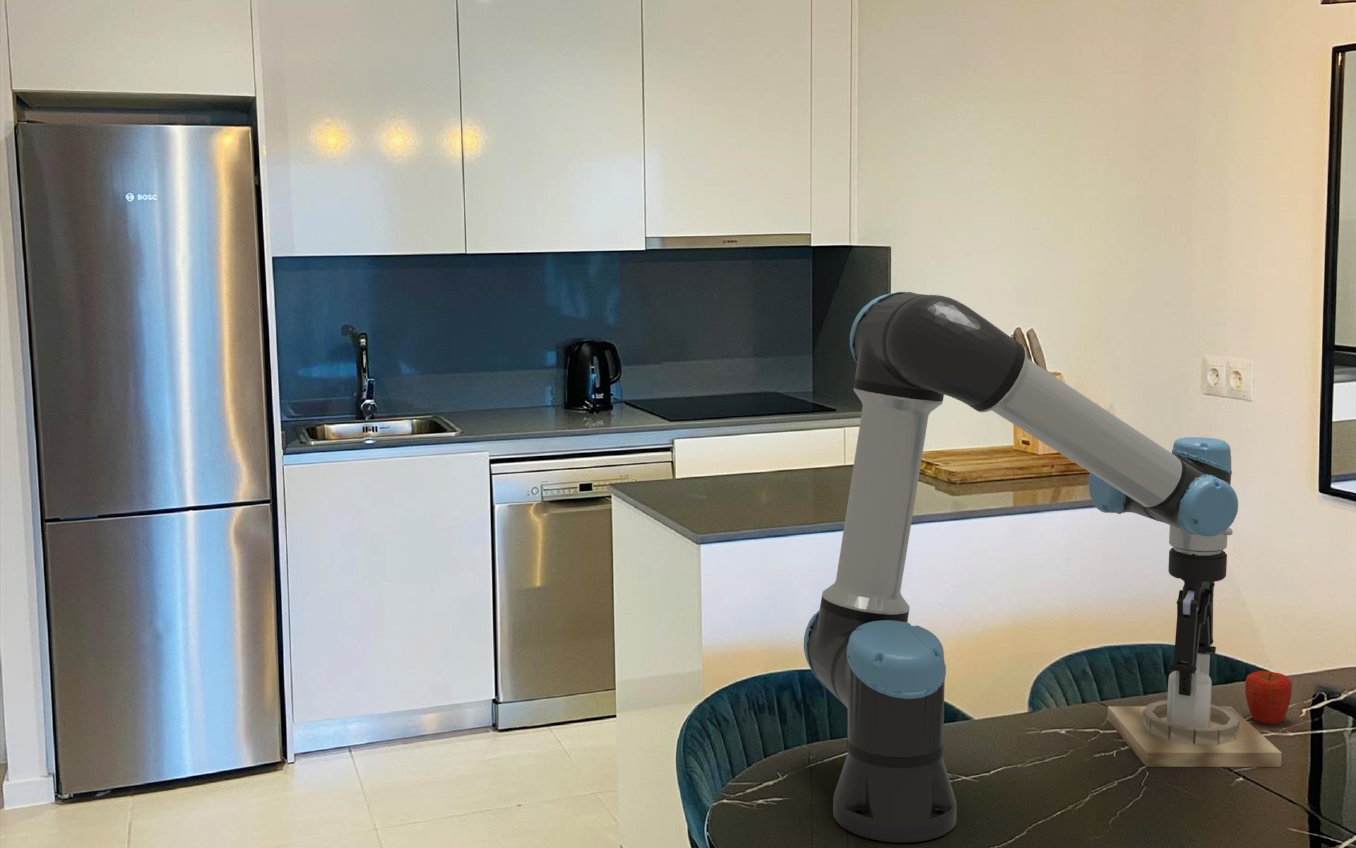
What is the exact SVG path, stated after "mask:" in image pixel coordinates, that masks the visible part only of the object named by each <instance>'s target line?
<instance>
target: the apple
mask: <svg viewBox="0 0 1356 848" xmlns="http://www.w3.org/2000/svg"><path fill="white" fill-rule="evenodd" d="M1244 686H1245V688H1244V689H1245V690H1244V693H1245V698H1246V702H1247V707H1248V710H1249V713H1250V716H1251V718H1252V720H1254V721H1255V722H1259V723H1262V724H1271V725H1272V724H1273V725H1275V724H1276V725H1277V724H1279V723H1280V722H1282V721H1283V720H1284V718H1285V717H1286V715H1287V712H1288V710H1289V707H1290V704H1291V703H1290V702H1291V697H1292V691H1293V683H1292V680H1291V679H1290V678H1289V677H1288V676H1286V675H1285V674H1283V673H1280V672H1273V671H1267V670H1258V671H1254V672H1252V673H1250V674H1247V676H1246V679H1245V685H1244Z"/></svg>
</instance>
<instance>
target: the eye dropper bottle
mask: <svg viewBox="0 0 1356 848" xmlns="http://www.w3.org/2000/svg"><path fill="white" fill-rule="evenodd" d="M1185 663H1187V662H1185ZM1196 668H1197V670H1196V671H1198V680H1197V703H1196V717H1195V718H1189V717H1183V716H1177V715H1174V711H1175V686H1176V671H1175V670H1173V671H1172V672H1170V674H1169V676H1168V680H1167V681H1168V684H1167V685H1168V686H1167V700H1168V702H1167V722H1169V723H1172V724H1176V725H1181V726H1187V727H1193V728H1210V714H1211V704H1212V686H1213V685H1212V683H1213V681H1212V678H1211V677H1210V674H1209V675H1207V674H1206V673H1204V672H1202V671H1199V670H1200V656H1199V655H1197V664H1196Z"/></svg>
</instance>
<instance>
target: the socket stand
mask: <svg viewBox="0 0 1356 848" xmlns="http://www.w3.org/2000/svg"><path fill="white" fill-rule="evenodd" d="M1167 702H1168V699H1165V700H1164V699H1162V700H1157V701H1154V702H1151V703H1148V704H1147V705H1146V706H1143V705H1142V706H1141V705H1140V706H1138V705H1137V706H1136V705H1135V706H1132V705H1130V706H1129V705H1127V706H1124V705H1123V706H1122V705H1120V706H1118V705H1115V706H1113V705H1112V706H1109V705H1108V706H1107V718H1106V719H1107V721H1108V722H1109V724H1110V725H1111V726H1112V727H1113V728H1114V729H1115V731H1117V733H1118V734H1119V736H1120V737H1121V738H1122V739H1123V740H1124V742H1125V743H1126V744H1127V745H1128V747H1129V748H1130V749H1131V751H1133V752H1134V754H1135V755H1136V757H1138V759H1139V760H1140V761H1141V762H1142V764H1143V765H1144V766H1145V767H1147V768H1148V767H1149V768H1153V767H1154V768H1156V767H1157V768H1158V767H1159V768H1160V767H1162V768H1165V767H1166V768H1167V767H1169V768H1170V767H1171V768H1174V767H1176V768H1177V767H1178V768H1179V767H1180V768H1181V767H1183V768H1185V767H1186V768H1187V767H1188V768H1193V767H1194V768H1199V767H1201V768H1205V767H1206V768H1209V767H1210V768H1215V767H1216V768H1269V767H1270V768H1281V767H1282V753H1283V752H1282V751H1280V749H1278V748H1277V747H1276V746H1275V745H1274V744H1273V743H1272V742H1271V741H1270V740H1269V739H1267V738H1266V737H1265V736H1264V735H1263V734H1262V733H1261V732H1260V731H1258V730H1257V729H1256V728H1255V727H1254V726H1253V725H1252V724H1250V723H1249V722H1248V721H1247V720H1246V718H1244V717H1243V716H1242V715H1241V714H1240V713H1238V711H1236V710H1235V709H1234V708H1233V707H1232V706H1226V705H1224V706H1221V705H1220V706H1219V705H1216V704H1213V703H1211V714H1210V728H1193V727H1187V726H1181V725H1176V724H1172V723H1169V722H1167Z"/></svg>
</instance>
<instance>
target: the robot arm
mask: <svg viewBox="0 0 1356 848" xmlns="http://www.w3.org/2000/svg"><path fill="white" fill-rule="evenodd" d="M849 333H850V334H849V347H850V351H851V355H852V357H853V359H854V362H855V363H856V371H855V377H854V383H853V392H854V393H855V394H856V397H858V399H859V401H861V402H860V403H861V404H862V409H861V414H860V421H859V422H860V424H859V428H858V435H857V440H856V449H855V455H854V460H853V466H852V473H851V474H852V475H851V479H850V487H849V494H848V501H847V507H846V513H845V519H844V526H843V533H842V538H841V545H840V546H841V547H840V550H839V558H838V563H837V564H838V565H837V572H836V578H835V581H834V583H832V584H831V585H830V586H828V587H827V588H826V589H824V590H823V591H822V594H821V599H820V606H819V610H818V611H817V612H816V613H814V614H813V615H812V617H811V618H810V619H809V621H808V623H807V626H806V628H805V631H804V636H803V653H804V656H805V660H806V663H807V664H808V667H809V668H810V671H811V672H812V673H813V676H814V677H815V678H816V679H817V681H818V682H820V685H822V686H823V687H824V688H825V689H826V690H827V691H829V692H830V693H832V694H833V696H834V697H835V698H837V699H838V700H839V702H841V703H842V705H843V706H844V707H846V708H847V755H846V757H845V761H844V764H843V767H842V770H841V773H840V776H839V777H838V781H837V784H836V787H835V791H834V792H833V793H834V794H833V797H832V798H833V799H832V801H833V802H832V805H833V806H832V810H833V811H832V814H833V815H832V816H833V818H834V820H835V822H836V823H837V824H839V826H841V828H843V829H845V830H846V831H848V832H850V833H853V834H854V835H857V836H860V837H863V838H866V839H869V840H875V841H879V842H886V843H918V842H924V841H925V842H926V841H930V840H934V839H938V838H940V837H943V836H944V835H947V834H948V833H949V832H951V831H952V830H953V829H954V827H955V826H956V824H957V810H958V809H957V799H956V796H955V793H954V790H953V787H952V784H951V780H950V777H949V774H948V771H947V768H946V764H945V762H944V720H945V719H944V718H945V685H946V684H945V682H946V673H947V665H946V663H945V651H944V647H943V645H942V641H941V640H940V639H939V637H937V636H936V635H935V634H934V633H933V632H932V631H930V630H928V629H927V628H925V627H922V626H919V625H911V623H910V622H909V613H910V605H909V604H908V602H907V601H906V599H905V598H904V597H903V595H902V591H901V589H902V583H903V576H904V570H905V565H906V560H907V559H906V558H907V552H908V547H909V539H910V535H911V534H910V533H911V528H912V520H913V514H914V509H915V503H916V497H917V496H916V495H917V491H918V483H919V477H920V471H921V465H922V459H923V452H924V448H925V441H926V435H927V428H928V421H929V415H931V413H932V412H933V411H935V410H936V409H938V408H939V407H941V405H942V404H943V403H944V402H943V401H944V397H945V396H948V397H951V398H952V399H955V400H957V401H960V402H961V403H962V404H966V405H967V406H969V407H970V408H972V409H973V410H975V411H977V412H978V413H987V412H990V411H992V412H993V413H996V414H997V415H999V416H1000V417H1001V418H1003V419H1005V420H1006V421H1008V422H1010V423H1012V424H1013V425H1014V426H1016V427H1018V428H1019V429H1021V430H1022V431H1024V432H1025V433H1027V434H1029V435H1030V436H1032V437H1033V438H1035V439H1037V440H1038V441H1039V442H1041V443H1042V444H1044V445H1046V446H1047V447H1049V448H1051V449H1052V450H1054V451H1055V452H1057V453H1059V454H1060V455H1061V456H1063V457H1065V458H1067V459H1068V460H1070V462H1073V463H1075V464H1076V465H1077V466H1080V467H1081V468H1083V469H1085V470H1086V471H1087V472H1089V475H1088V492H1089V496H1090V499H1091V501H1092V504H1093V505H1094V507H1095V508H1096V509H1097V510H1099V511H1100V512H1101V513H1105V514H1108V513H1109V514H1117V515H1121V514H1125V513H1133V514H1137V515H1140V516H1142V517H1145V518H1148V519H1150V520H1154V521H1157V522H1160V523H1164V524H1166V525H1168V526H1169V533H1168V534H1169V535H1168V537H1169V538H1168V543H1169V545H1170V546H1171V547H1172V548H1170V549H1169V551H1168V568H1167V570H1168V574H1169V575H1170V576H1172V577H1173V578H1175V579H1180V580H1182V582H1183V587H1182V589H1180V590H1178V591H1179V592H1178V598H1177V600H1176V610H1177V611H1176V623H1175V627H1176V628H1175V641H1174V651H1173V663H1172V664H1170V665H1169V670H1171V671H1176V686H1175V711H1174V715H1177V716H1183V717H1189V718H1195V717H1196V703H1197V680H1198V671H1196V670H1197V668H1196V664H1197V655H1199V656H1200V670H1199V671H1202V672H1204V673H1206V674H1207V675H1209V676H1210V662H1211V661H1210V658H1211V657H1210V654H1216V650H1217V646H1213V644H1214V594H1215V593H1214V591H1215V590H1214V589H1215V585H1216V584H1215V582H1220V581H1222V580H1225V578H1226V576H1227V565H1228V564H1227V563H1228V554H1227V553H1226V551H1224V550H1225V549H1227V548H1228V536H1231V535H1233V532H1234V531H1233V529H1232V528H1230V527H1231V526H1232V525H1233V523H1234V521H1235V519H1236V517H1237V515H1238V510H1239V499H1238V495H1237V492H1236V491H1235V489H1234V488H1233V486H1232V485H1231V482H1232V481H1231V480H1232V479H1231V478H1232V475H1233V470H1232V452H1231V451H1232V449H1231V446H1230V444H1229V443H1228V442H1226V440H1222V439H1218V438H1215V437H1214V438H1213V437H1204V436H1202V437H1201V436H1191V437H1188V436H1186V437H1182V438H1181V437H1180V438H1177V439H1175V440H1174V442H1173V446H1172V450H1171V451H1169V450H1168V449H1166V448H1164V447H1163V446H1162V445H1160V444H1158V443H1157V442H1155V441H1154V440H1153V439H1150V438H1149V437H1147V436H1146V435H1144V434H1143V433H1141V432H1140V431H1138V430H1137V429H1135V427H1132V426H1131V425H1129V424H1128V423H1127V422H1125V421H1123V420H1122V419H1120V418H1119V417H1117V416H1116V415H1114V414H1113V413H1111V412H1109V411H1108V410H1106V409H1105V408H1104V407H1102V406H1101V405H1099V404H1097V403H1096V402H1094V401H1093V400H1091V399H1090V398H1088V397H1087V396H1085V395H1083V394H1082V393H1081V392H1080V391H1077V390H1076V389H1074V388H1073V387H1072V386H1070V385H1068V383H1065V382H1064V381H1063V380H1061V379H1060V378H1058V377H1056V376H1055V375H1054V374H1052V373H1050V372H1048V371H1047V370H1045V369H1044V368H1043V367H1041V366H1040V365H1038V364H1036V362H1034V361H1032V360H1031V359H1029V358H1028V353H1027V352H1028V351H1027V349H1026V347H1025V345H1023V344H1022V343H1020V342H1018V340H1015V339H1014V338H1013V337H1011V336H1010V335H1008V334H1007V333H1006V332H1004V331H1003V330H1001V329H1000V328H998V327H997V326H996V325H995V324H993V323H992V322H990V321H989V320H988V319H987V318H985V317H983V316H982V315H980V314H979V313H977V312H976V311H975V310H973V309H971V308H970V307H969V306H967V305H965V304H963V303H962V302H960V301H958V300H956V299H953V298H951V297H948V296H945V295H939V294H925V293H924V294H922V293H915V292H912V291H897V292H892V293H888V294H882V295H881V296H878V297H875V298H874V299H872V300H870V302H868V303H867V304H866V305H864V306H863V307H862V308H861V310H860V311H859V312H858V314H857V315H856V317H855V319H854V320H853V323H852V326H851V330H850V332H849ZM1185 662H1187V663H1185Z"/></svg>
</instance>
